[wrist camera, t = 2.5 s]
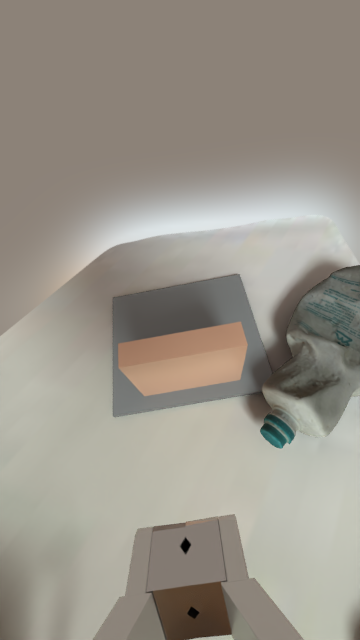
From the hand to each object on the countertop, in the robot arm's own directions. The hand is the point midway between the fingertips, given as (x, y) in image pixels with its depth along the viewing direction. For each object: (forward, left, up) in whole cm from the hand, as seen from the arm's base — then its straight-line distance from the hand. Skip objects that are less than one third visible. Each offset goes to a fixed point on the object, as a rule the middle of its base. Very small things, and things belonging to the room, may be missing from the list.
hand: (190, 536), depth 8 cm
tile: (0, +12, -22) cm, 25 cm away
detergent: (+16, +12, -23) cm, 31 cm away
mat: (0, +18, -23) cm, 29 cm away
